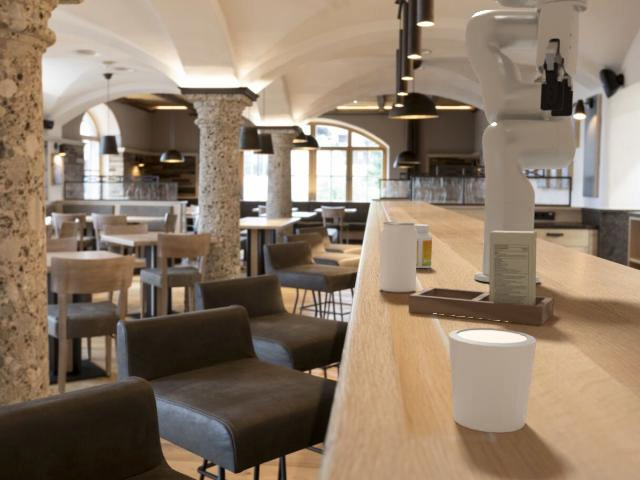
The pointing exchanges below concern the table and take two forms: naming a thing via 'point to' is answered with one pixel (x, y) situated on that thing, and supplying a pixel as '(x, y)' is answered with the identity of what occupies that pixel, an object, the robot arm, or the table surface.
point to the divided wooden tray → (478, 306)
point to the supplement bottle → (423, 246)
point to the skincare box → (513, 267)
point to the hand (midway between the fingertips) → (556, 113)
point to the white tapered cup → (491, 378)
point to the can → (398, 257)
